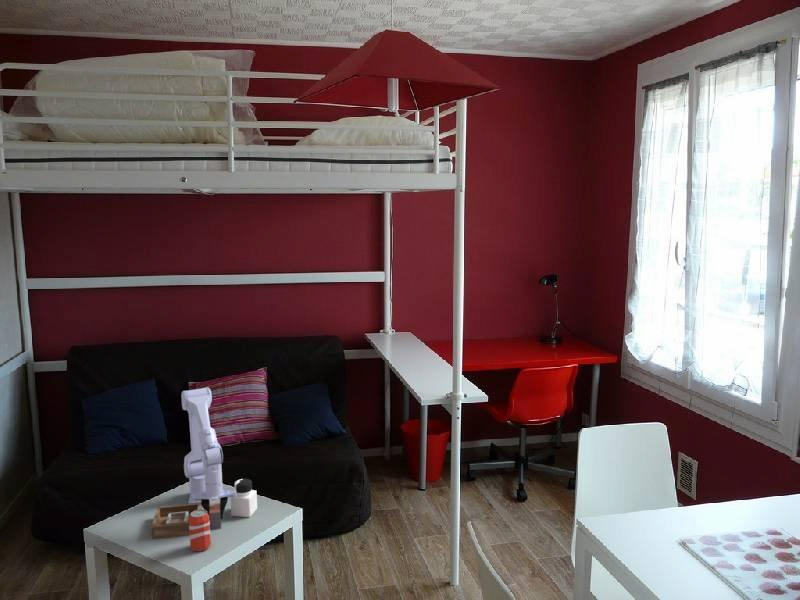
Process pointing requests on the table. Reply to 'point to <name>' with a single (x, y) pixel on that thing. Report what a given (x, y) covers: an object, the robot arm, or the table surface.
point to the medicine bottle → (244, 499)
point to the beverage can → (199, 530)
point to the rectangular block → (215, 516)
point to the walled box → (173, 520)
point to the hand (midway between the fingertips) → (215, 518)
